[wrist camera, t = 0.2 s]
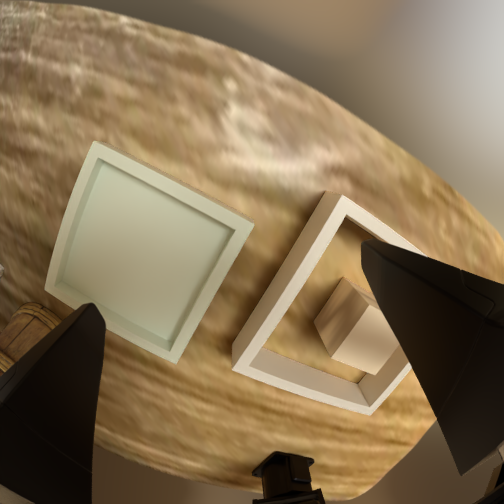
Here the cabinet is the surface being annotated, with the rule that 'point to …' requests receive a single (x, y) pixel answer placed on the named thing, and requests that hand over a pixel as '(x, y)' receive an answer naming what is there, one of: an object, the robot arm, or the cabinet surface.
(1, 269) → the product box
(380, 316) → the birch block
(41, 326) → the wooden mug
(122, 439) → the cabinet surface
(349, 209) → the white square frame
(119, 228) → the sage tray
